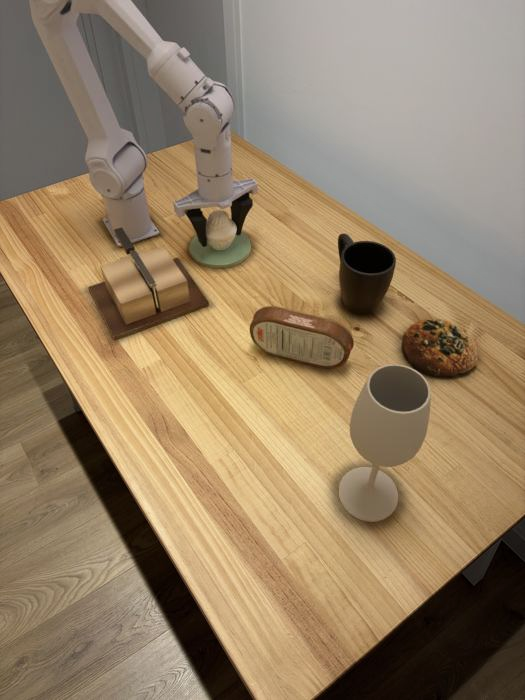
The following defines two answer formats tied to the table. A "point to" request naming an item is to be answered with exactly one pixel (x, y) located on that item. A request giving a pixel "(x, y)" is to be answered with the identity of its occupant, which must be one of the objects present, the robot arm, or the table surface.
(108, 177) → the robot arm
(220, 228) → the muffin
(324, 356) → the tin
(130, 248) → the knife
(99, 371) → the table surface
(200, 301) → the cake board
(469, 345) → the bread roll
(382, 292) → the mug
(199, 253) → the plate
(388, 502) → the wineglass
